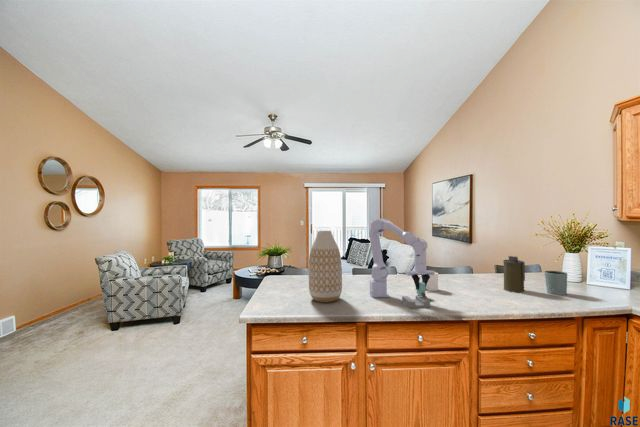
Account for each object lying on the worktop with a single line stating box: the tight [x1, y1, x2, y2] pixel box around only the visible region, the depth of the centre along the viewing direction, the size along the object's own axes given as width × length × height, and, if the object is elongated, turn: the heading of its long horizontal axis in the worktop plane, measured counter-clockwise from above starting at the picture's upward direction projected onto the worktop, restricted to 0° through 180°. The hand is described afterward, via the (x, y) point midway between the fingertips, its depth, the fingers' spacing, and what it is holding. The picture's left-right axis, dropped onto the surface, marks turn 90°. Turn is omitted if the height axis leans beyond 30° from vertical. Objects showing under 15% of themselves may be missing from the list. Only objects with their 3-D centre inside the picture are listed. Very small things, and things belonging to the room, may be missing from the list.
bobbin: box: [416, 288, 428, 300], centre depth 160 cm, size 6×6×5 cm
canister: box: [502, 255, 526, 294], centre depth 171 cm, size 11×10×20 cm
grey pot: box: [544, 270, 568, 296], centre depth 164 cm, size 10×10×12 cm
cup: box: [418, 271, 439, 292], centre depth 176 cm, size 8×12×10 cm
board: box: [401, 295, 431, 309], centre depth 148 cm, size 10×10×3 cm
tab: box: [415, 281, 427, 296], centre depth 149 cm, size 3×7×6 cm, turn 5°
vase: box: [308, 230, 343, 303], centre depth 160 cm, size 19×18×38 cm
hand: (420, 288), depth 151 cm, fingers closed on tab, 3 cm apart
